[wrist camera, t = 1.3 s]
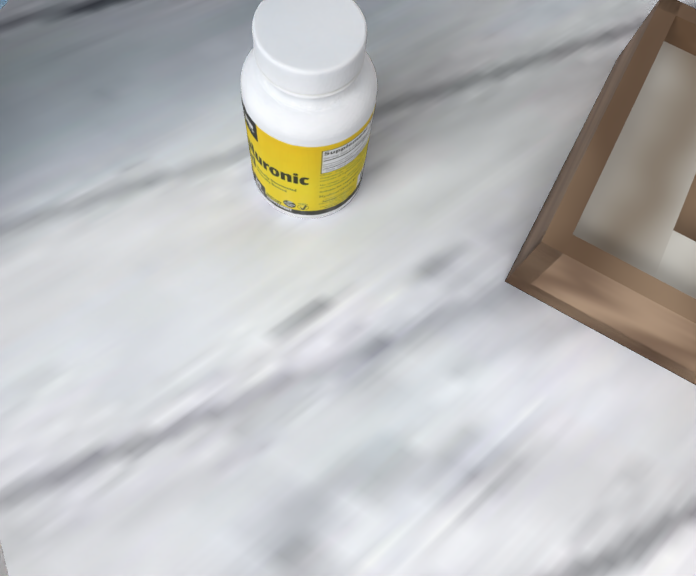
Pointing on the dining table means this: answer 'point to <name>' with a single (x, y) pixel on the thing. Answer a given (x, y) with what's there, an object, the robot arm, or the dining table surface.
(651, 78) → the socket box
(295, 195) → the supplement bottle
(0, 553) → the robot arm
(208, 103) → the dining table surface
